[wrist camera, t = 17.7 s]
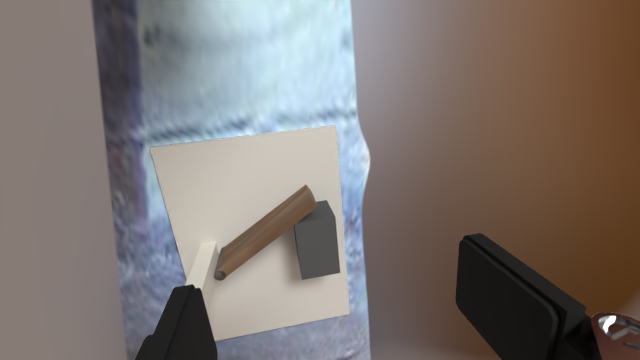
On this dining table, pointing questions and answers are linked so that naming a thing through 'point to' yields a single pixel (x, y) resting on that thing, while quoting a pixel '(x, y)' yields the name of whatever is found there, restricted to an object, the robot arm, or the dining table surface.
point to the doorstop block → (317, 243)
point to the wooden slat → (264, 232)
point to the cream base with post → (244, 211)
